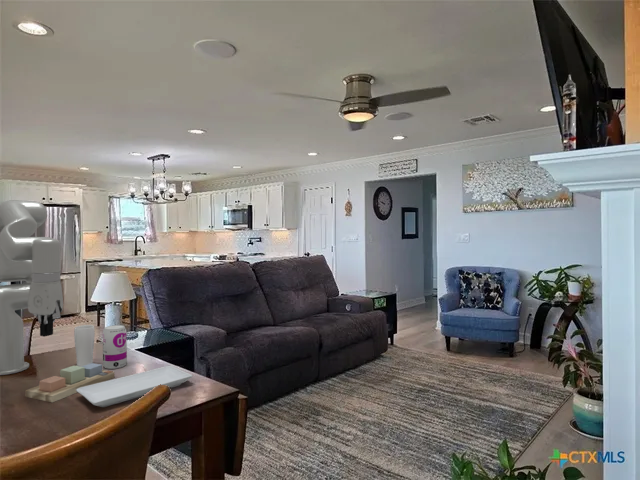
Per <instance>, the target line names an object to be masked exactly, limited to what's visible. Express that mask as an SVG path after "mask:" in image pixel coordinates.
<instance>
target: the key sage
mask: <svg viewBox="0 0 640 480" xmlns="http://www.w3.org/2000/svg"><path fill="white" fill-rule="evenodd" d="M59 377H64V378H65V383H67V384H69V385H72V384H75V383H76V382H78V381H81V380H84V379H85V367H80V366H77V365H72V366H71V365H70V366H67V367H65V368H62V369H60V370H59Z"/></svg>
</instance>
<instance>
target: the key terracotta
mask: <svg viewBox="0 0 640 480" xmlns="http://www.w3.org/2000/svg"><path fill="white" fill-rule="evenodd" d="M38 383H39V384H38V386H39V391H44V392H49V393H51V392H54V391H56V390H59V389H61V388H64V387H66V386H65V378H64V377H60V376H57V375H53V376H50V377H47V378H44V379H41V380H39V381H38Z"/></svg>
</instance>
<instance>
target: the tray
mask: <svg viewBox="0 0 640 480" xmlns="http://www.w3.org/2000/svg"><path fill="white" fill-rule="evenodd" d="M193 376H194V375H193V374H191V373H188V372H186V371H184V370H182V369H179V368H177V367H175V366H173V365H165V366H162V367H158V368H154V369H150V370H145V371H141V372H138V373H134V374H129V375H126V376H122V377H118V378H112V379H110V380H107V381H104V382H100V383H96V384H92V385H88V386H84V387H80V388H78V389H76V391H77V393H78V394H80V395H81V396H83V398H85V399H86V400H87V401H88V402H89V403H91V404H92V405H93V406H97V407H100V408H106V407H109V406H112V405H116V404H120V403H122V402H126V401H130V400H134V399H137V398H141V397H144V396H145V395H144V394H146V393H147V392H149V391H150V390H152V389H153V388H154V387H156V386H158V385H160V384H161V385H167V386H169V387H171V388H170V389H173V388H175V387H179V386H181V384H183V383H185V382H186V381H188V380H190V379H191V378H193ZM143 395H144V396H143Z"/></svg>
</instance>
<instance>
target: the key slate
mask: <svg viewBox="0 0 640 480" xmlns="http://www.w3.org/2000/svg"><path fill="white" fill-rule="evenodd" d="M82 367H85V377H88V378H91V377H93V376H96V375H98V374H100V373H102V370H103V364H100V363H94V362H93V363H91V364H88V365H85V366H82Z"/></svg>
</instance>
